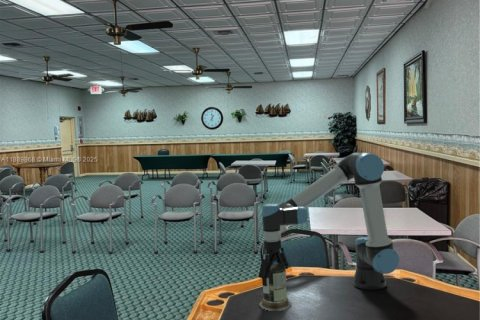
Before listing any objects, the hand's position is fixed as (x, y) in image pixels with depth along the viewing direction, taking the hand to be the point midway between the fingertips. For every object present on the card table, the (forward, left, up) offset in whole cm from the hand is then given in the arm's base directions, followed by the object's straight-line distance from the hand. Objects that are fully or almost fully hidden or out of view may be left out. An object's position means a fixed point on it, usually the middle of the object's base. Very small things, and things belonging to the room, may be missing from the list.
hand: (275, 288), depth 190 cm
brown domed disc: (0, 0, -7) cm, 8 cm away
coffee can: (0, 0, -5) cm, 5 cm away
